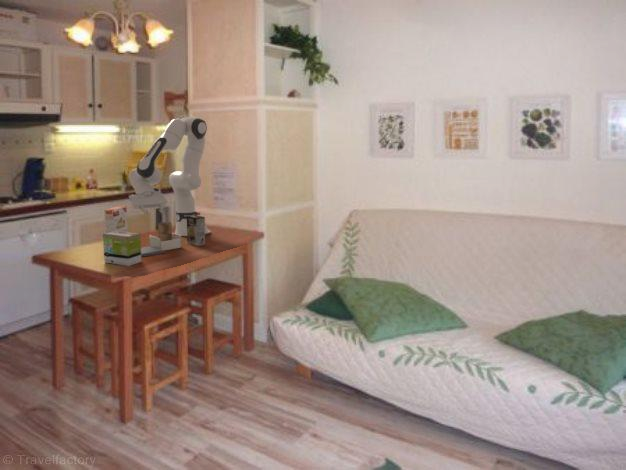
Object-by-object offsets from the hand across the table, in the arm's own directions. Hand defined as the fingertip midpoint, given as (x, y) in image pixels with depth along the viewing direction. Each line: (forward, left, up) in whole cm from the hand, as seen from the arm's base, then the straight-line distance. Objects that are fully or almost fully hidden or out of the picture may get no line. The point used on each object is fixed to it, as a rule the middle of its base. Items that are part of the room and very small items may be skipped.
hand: (154, 212), depth 310 cm
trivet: (+15, +15, -19) cm, 28 cm away
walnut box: (0, +11, -19) cm, 21 cm away
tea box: (+33, +27, -19) cm, 46 cm away
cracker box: (+15, -15, -19) cm, 29 cm away
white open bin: (0, +11, -19) cm, 21 cm away
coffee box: (-18, +14, -19) cm, 29 cm away
